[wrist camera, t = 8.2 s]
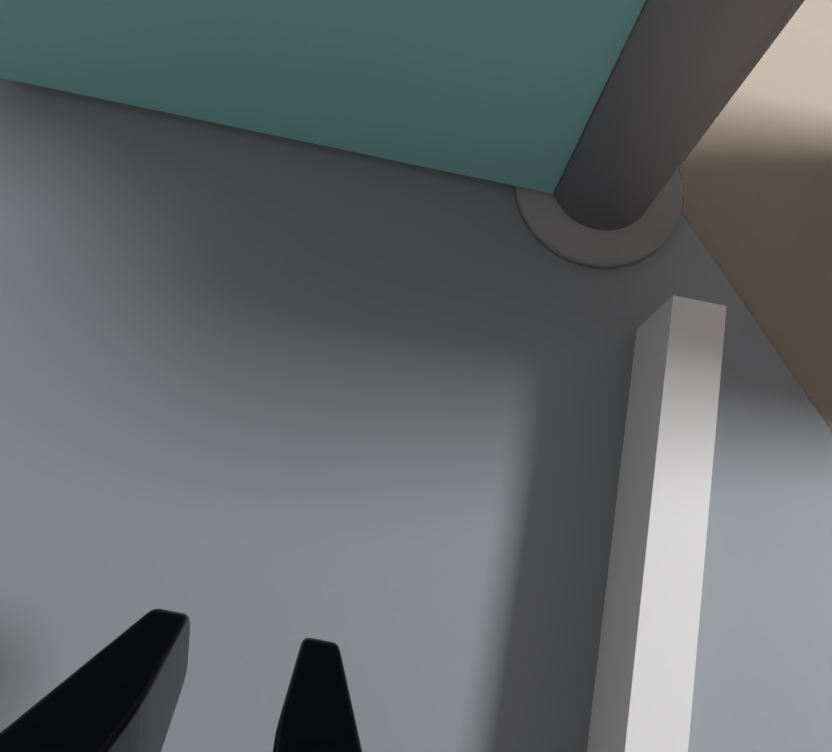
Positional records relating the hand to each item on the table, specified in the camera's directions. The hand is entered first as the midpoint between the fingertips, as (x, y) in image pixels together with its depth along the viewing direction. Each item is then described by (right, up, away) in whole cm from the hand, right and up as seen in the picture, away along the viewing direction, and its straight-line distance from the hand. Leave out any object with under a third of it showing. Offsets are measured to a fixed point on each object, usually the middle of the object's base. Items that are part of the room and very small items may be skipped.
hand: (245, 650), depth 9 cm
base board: (-1, +2, +7) cm, 8 cm away
